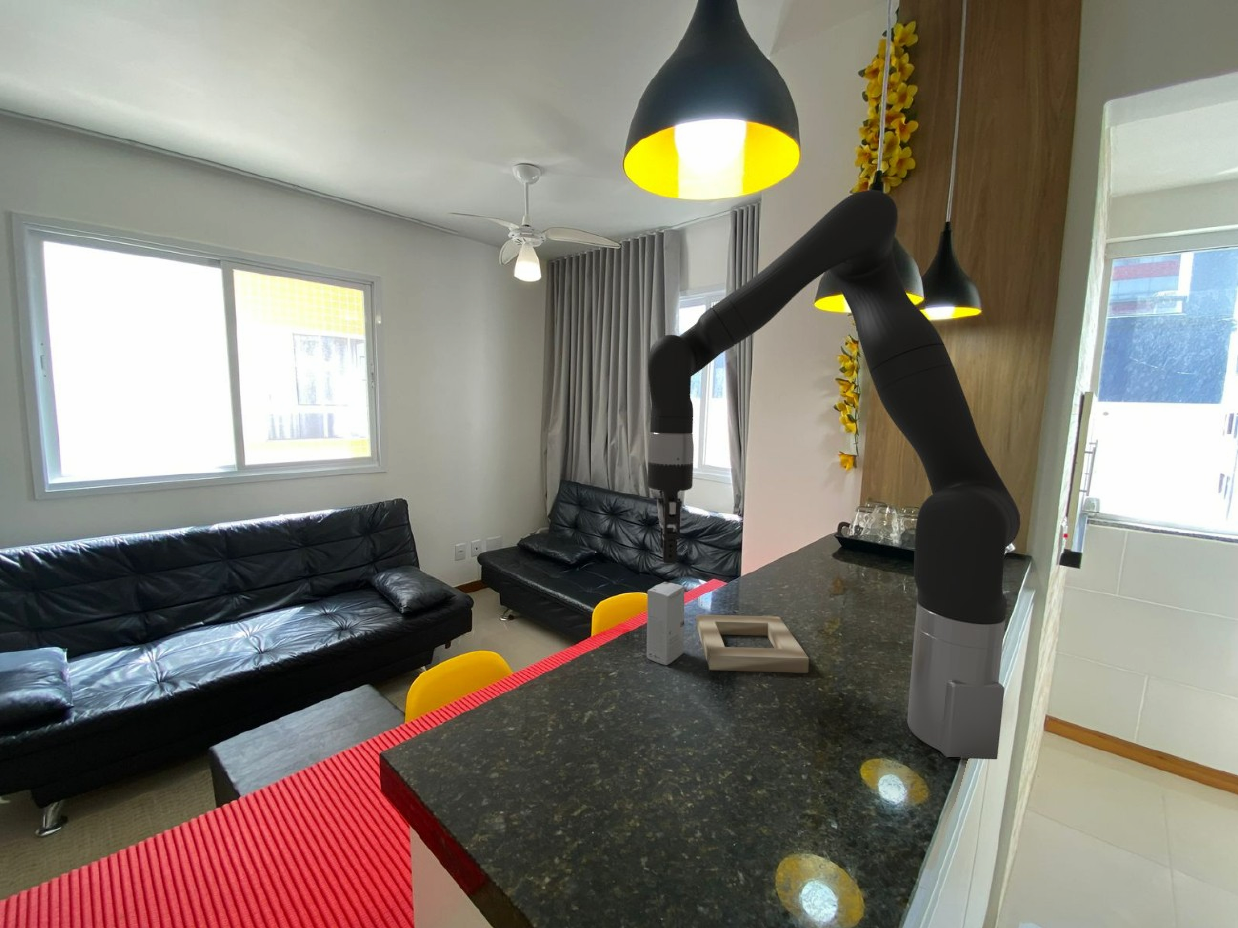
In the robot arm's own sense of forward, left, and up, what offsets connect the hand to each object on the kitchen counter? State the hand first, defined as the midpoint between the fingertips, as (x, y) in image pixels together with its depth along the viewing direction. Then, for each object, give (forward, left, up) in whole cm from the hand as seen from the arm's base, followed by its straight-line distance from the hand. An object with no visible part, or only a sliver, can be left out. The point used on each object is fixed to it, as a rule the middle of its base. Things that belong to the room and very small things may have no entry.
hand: (667, 554), depth 81 cm
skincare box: (0, 0, -18) cm, 18 cm away
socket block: (+3, -15, -18) cm, 24 cm away
